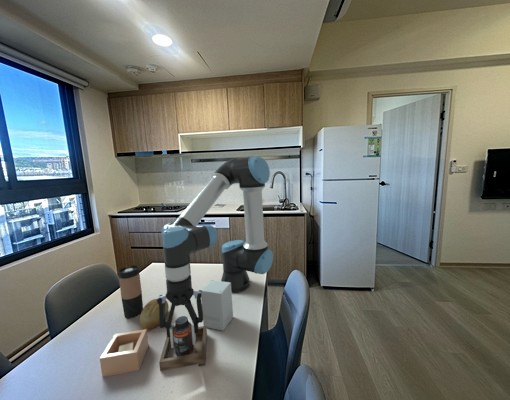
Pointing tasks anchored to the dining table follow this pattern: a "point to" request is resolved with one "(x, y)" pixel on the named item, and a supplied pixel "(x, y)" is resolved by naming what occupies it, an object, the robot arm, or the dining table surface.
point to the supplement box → (217, 304)
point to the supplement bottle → (183, 336)
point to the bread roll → (151, 315)
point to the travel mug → (131, 291)
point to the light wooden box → (124, 353)
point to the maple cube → (126, 347)
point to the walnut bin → (186, 359)
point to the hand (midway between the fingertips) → (183, 343)
